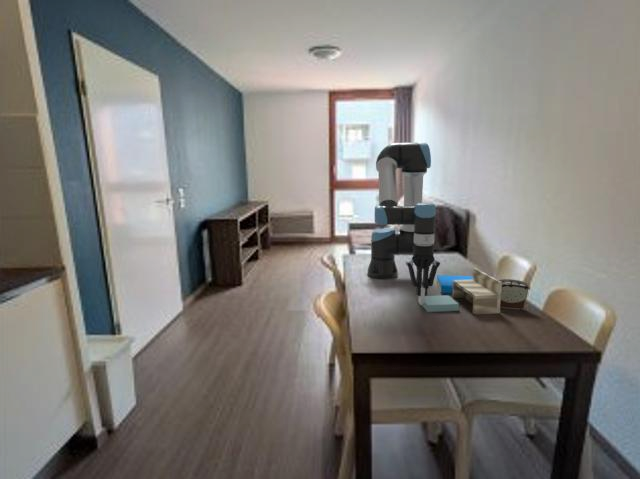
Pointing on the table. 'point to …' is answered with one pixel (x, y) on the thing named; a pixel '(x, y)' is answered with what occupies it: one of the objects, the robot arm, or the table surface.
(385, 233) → the robot arm
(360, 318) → the table surface
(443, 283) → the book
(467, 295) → the shelf
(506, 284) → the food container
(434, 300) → the teal square tile
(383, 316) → the table surface
